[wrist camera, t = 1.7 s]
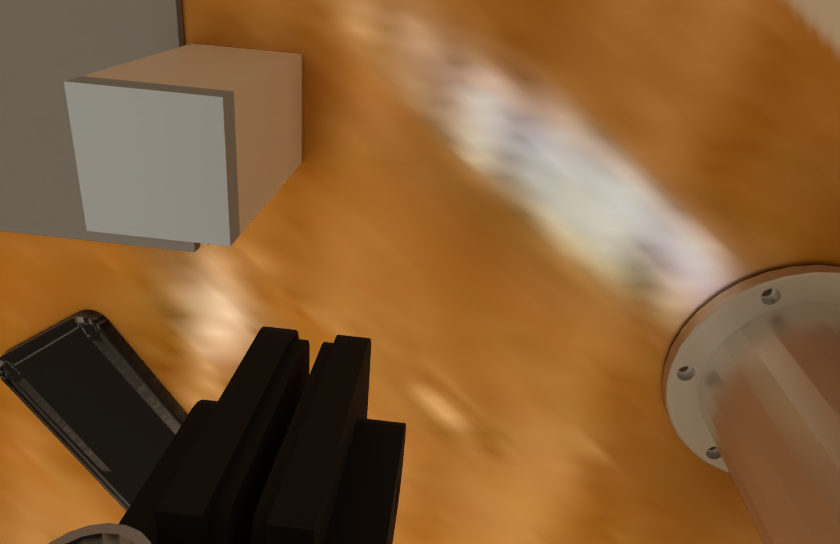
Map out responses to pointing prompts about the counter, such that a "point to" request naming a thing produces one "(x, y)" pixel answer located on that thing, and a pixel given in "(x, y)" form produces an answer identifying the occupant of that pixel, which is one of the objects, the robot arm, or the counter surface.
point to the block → (186, 141)
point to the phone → (96, 400)
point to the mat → (65, 102)
